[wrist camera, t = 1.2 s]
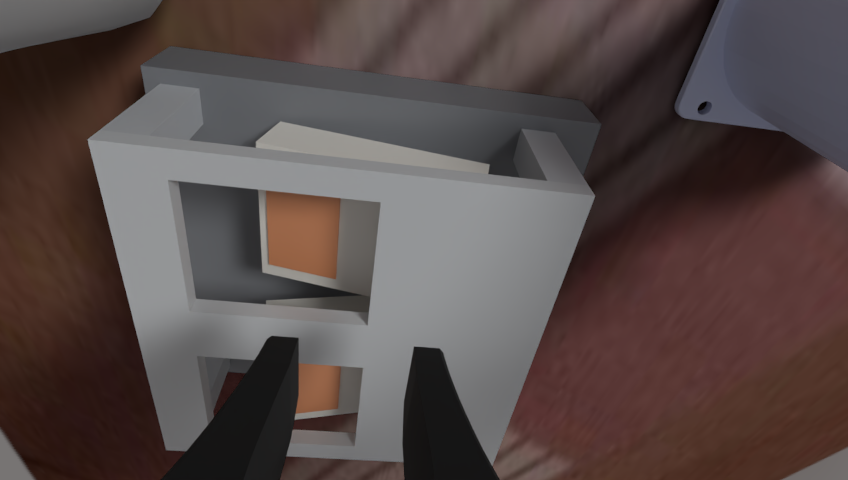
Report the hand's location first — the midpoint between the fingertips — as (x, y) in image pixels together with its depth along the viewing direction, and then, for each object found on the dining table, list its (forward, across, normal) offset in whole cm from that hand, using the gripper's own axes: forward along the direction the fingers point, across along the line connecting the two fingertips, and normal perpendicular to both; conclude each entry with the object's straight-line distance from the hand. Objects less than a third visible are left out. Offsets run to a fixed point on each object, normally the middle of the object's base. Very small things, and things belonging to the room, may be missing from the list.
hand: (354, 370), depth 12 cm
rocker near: (+6, 0, 0) cm, 6 cm away
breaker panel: (+10, 0, +3) cm, 11 cm away
